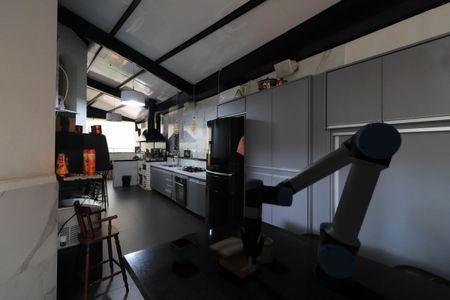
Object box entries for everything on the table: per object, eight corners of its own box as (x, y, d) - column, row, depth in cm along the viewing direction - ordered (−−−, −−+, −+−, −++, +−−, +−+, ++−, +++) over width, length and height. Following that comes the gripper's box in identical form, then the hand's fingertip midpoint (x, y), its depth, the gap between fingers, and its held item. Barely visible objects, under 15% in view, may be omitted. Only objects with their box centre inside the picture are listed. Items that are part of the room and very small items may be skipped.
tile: (257, 270, 94) (257, 262, 94) (242, 279, 87) (242, 271, 87) (234, 258, 104) (235, 250, 104) (219, 265, 97) (219, 257, 97)
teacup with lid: (273, 265, 98) (274, 240, 98) (254, 262, 99) (254, 238, 99) (273, 252, 109) (273, 230, 109) (255, 250, 111) (256, 228, 111)
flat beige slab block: (250, 261, 100) (251, 244, 100) (227, 275, 89) (227, 255, 89) (232, 252, 109) (232, 236, 109) (208, 263, 98) (209, 245, 97)
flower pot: (195, 261, 99) (195, 242, 99) (179, 268, 93) (180, 248, 93) (184, 254, 105) (184, 236, 105) (168, 261, 99) (169, 242, 99)
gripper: (271, 217, 87) (269, 274, 88) (246, 210, 97) (245, 261, 97) (260, 221, 82) (258, 281, 82) (236, 213, 91) (234, 267, 92)
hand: (251, 270), depth 90 cm, fingers closed
